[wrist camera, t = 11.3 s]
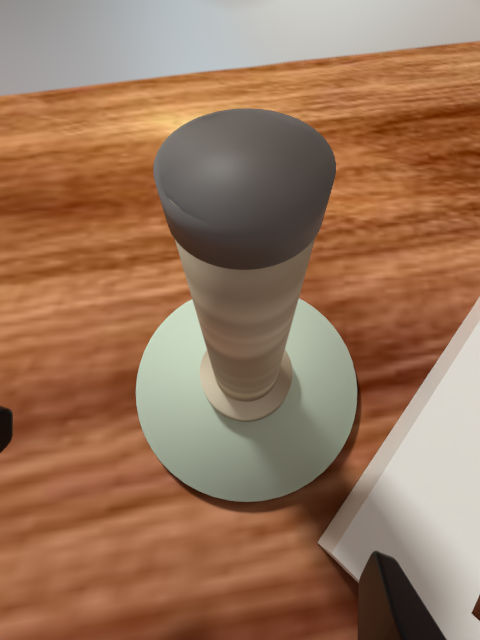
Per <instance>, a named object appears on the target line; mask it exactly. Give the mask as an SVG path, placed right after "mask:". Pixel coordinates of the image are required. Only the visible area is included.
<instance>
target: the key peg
mask: <svg viewBox="0 0 480 640" xmlns="http://www.w3.org/2000/svg"><path fill="white" fill-rule="evenodd" d="M335 173H336V162H335V157H334V154H333V152H332V149H331V147H330V146H329V144H328V143H327V141H326V140H325V139H324V138H323V137H322V135H321V134H320V133H318V132H317V131H316V130H315V129H314V128H312V127H311V126H309V125H308V124H306V123H304V122H302V121H300V120H299V119H296V118H294V117H291V116H289V115H285V114H282V113H279V112H274V111H269V110H262V109H231V110H224V111H218V112H214V113H210V114H207V115H204V116H201V117H198V118H196V119H194V120H192V121H190V122H188V123H186V124H184V125H183V126H181V127H180V128H178V129H177V130H176V131H174V132H173V133H172V134H171V135H170V136H169V137H168V138H167V139H166V140H165V141H164V143H163V144H162V145H161V147H160V149H159V150H158V152H157V155H156V157H155V161H154V179H155V183H156V187H157V190H158V193H159V197H160V200H161V203H162V207H163V210H164V213H165V217H166V220H167V223H168V227H169V229H170V231H171V234H172V235H173V237H174V238H175V241H176V245H177V248H178V252H179V255H180V259H181V262H182V265H183V269H184V272H185V276H186V279H187V283H188V286H189V290H190V293H191V296H192V300H193V303H194V307H195V310H196V314H197V317H198V321H199V324H200V327H201V331H202V334H203V338H204V341H205V345H206V348H207V350H206V352H205V354H204V356H203V358H202V361H201V365H200V381H201V385H202V388H203V391H204V393H205V395H206V397H207V399H208V401H209V402H210V404H211V405H212V406H213V407H214V408H215V410H217V411H218V412H219V413H220V414H222V415H223V416H225V417H227V418H230V419H232V420H236V421H242V422H251V421H257V420H260V419H263V418H265V417H268V416H269V415H271V414H272V413H274V412H275V411H276V410H277V409H278V408H279V407H280V406H281V405H282V403H283V402H284V400H285V398H286V396H287V394H288V392H289V389H290V386H291V382H292V374H293V372H292V364H291V360H290V357H289V355H288V353H287V351H286V350H285V347H286V343H287V339H288V336H289V332H290V328H291V325H292V321H293V317H294V314H295V310H296V306H297V303H298V299H299V295H300V292H301V288H302V284H303V281H304V277H305V273H306V270H307V266H308V262H309V259H310V255H311V251H312V248H313V244H314V240H315V237H316V235H317V234H318V232H319V230H320V227H321V225H322V221H323V218H324V214H325V211H326V207H327V204H328V200H329V196H330V193H331V189H332V186H333V182H334V178H335Z"/></svg>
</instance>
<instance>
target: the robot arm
mask: <svg viewBox="0 0 480 640" xmlns="http://www.w3.org/2000/svg"><path fill="white" fill-rule="evenodd" d="M12 436H13V414H12V411H11V410H10V409H8V408H5V407H3V406H0V453H1V452H2V451H3V450H4V449H5V448H6V447H7V446H8V444H9V443H10V441H11V439H12ZM358 640H447V639H446V638H445V636H444V634H443V633H442V631H441V630H440V628H439V626H438V625H437V623H436V622H435V620H434V618H433V617H432V615H431V614H430V612H429V611H428V609H427V607H426V606H425V604H424V603H423V601H422V599H421V598H420V596H419V595H418V593H417V591H416V590H415V588H414V587H413V585H412V583H411V582H410V580H409V579H408V577H407V576H406V574H405V572H404V571H403V569H402V568H401V566H400V564H399V563H398V561H397V560H396V559H395V558H394V557H392V556H390V555H387V554H384V553H382V552H379V551H374V552H372V554H371V555H370V557H369V559H368V561H367V563H366V566H365V568H364V570H363V572H362V574H361V576H360V579H359V585H358Z"/></svg>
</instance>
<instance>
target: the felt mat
mask: <svg viewBox="0 0 480 640" xmlns="http://www.w3.org/2000/svg"><path fill="white" fill-rule="evenodd" d="M206 350H207V348H206V345H205V341H204V338H203V334H202V331H201V327H200V324H199V321H198V317H197V314H196V310H195V307H194V303H193V300H192V299H191V300H190V301H188V302H186V303H185V304H183V305H182V306H180V307H179V308H178V309H176V310H175V311H174V312H173V313H172V314H171V315H170V316H169V317H167V318H166V319H165V321H164V322H163V323H162V324H161V325H160V326H159V328H158V329H157V330H156V332H155V333H154V335H153V336H152V338H151V339H150V341H149V343H148V345H147V347H146V349H145V351H144V354H143V357H142V359H141V362H140V366H139V370H138V375H137V383H136V404H137V411H138V416H139V421H140V424H141V427H142V430H143V432H144V435H145V437H146V439H147V441H148V443H149V445H150V447H151V449H152V450H153V452H154V453H155V454H156V456H157V457H158V459H159V460H160V461H161V462H162V464H163V465H164V466H165V467H166V468H167V469H168V470H169V471H170V472H171V473H172V474H173V475H175V476H176V477H177V478H179V479H180V480H181V481H182V482H184V483H185V484H187V485H189V486H190V487H192V488H194V489H196V490H198V491H200V492H202V493H205V494H207V495H210V496H213V497H216V498H220V499H225V500H229V501H240V502H254V501H265V500H269V499H274V498H278V497H282V496H284V495H287V494H289V493H292V492H294V491H297V490H298V489H300V488H302V487H303V486H305V485H307V484H309V483H310V482H312V481H313V480H314V479H315V478H317V477H318V476H319V475H320V474H321V473H323V472H324V471H325V470H326V469H327V468H328V466H329V465H330V464H331V463H332V462H333V461H334V460H335V458H336V457H337V455H338V454H339V452H340V451H341V449H342V448H343V446H344V444H345V442H346V440H347V438H348V436H349V434H350V431H351V428H352V425H353V422H354V418H355V412H356V406H357V383H356V375H355V370H354V366H353V362H352V360H351V357H350V354H349V352H348V349H347V347H346V346H345V344H344V342H343V340H342V338H341V337H340V335H339V334H338V332H337V331H336V330H335V328H334V327H333V326H332V324H331V323H330V322H329V321H328V320H327V319H326V318H325V317H324V316H323V315H322V314H321V313H320V312H318V311H317V310H316V309H315V308H314V307H312V306H311V305H309V304H308V303H306V302H305V301H303V300H301V299H298V303H297V306H296V310H295V314H294V317H293V321H292V325H291V328H290V332H289V336H288V339H287V343H286V347H285V350H286V351H287V353H288V355H289V357H290V360H291V364H292V372H293V374H292V382H291V386H290V389H289V392H288V394H287V396H286V398H285V400H284V402H283V403H282V405H281V406H280V407H279V408H278V409H277V410H276V411H275V412H274V413H272V414H271V415H269V416H268V417H265V418H263V419H260V420H257V421H251V422H242V421H236V420H232V419H230V418H227V417H225V416H223V415H222V414H220V413H219V412H218V411H217V410H215V408H214V407H213V406H212V405H211V404H210V402H209V401H208V399H207V397H206V395H205V393H204V391H203V388H202V385H201V381H200V365H201V361H202V358H203V356H204V354H205V352H206Z"/></svg>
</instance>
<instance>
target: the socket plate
mask: <svg viewBox="0 0 480 640" xmlns="http://www.w3.org/2000/svg"><path fill="white" fill-rule="evenodd" d="M317 543H318V544H319V545H320V546H321V547H322V548H323V549H324V550H325V551H326V552H327V553H328V554H329V555H330V556H331V557H332V558H333V559H334V560H335V561H336V562H337V563H338V564H339V565H340V566H341V567H342V568H343V569H344V570H345V571H346V572H347V573H348V574H349V575H350V576H351V577H352V578H353V579H354V580H355V581H356V582H357V583H358V584H359V579H360V576H361V574H362V572H363V570H364V568H365V566H366V563H367V561H368V559H369V557H370V555H371V554H372V552H374V551H379V552H382V553H384V554H387V555H390V556H392V557H394V558H395V559H396V560H397V561H398V563H399V564H400V566H401V568H402V569H403V571H404V572H405V574H406V576H407V577H408V579H409V580H410V582H411V583H412V585H413V587H414V588H415V590H416V591H417V593H418V595H419V596H420V598H421V599H422V601H423V603H424V604H425V606H426V607H427V609H428V611H429V612H430V614H431V615H432V617H433V618H434V620H435V622H436V623H437V625H438V626H439V628H440V630H441V631H442V633H443V634H444V636H445V638H446V639H447V640H480V621H479V620H478V619H477V618H476V617H475V616H474V615H473V614H471V613H472V611H473V608H474V606H475V604H476V602H477V599H478V597H479V595H480V297H479V299H478V300H477V302H476V303H475V305H474V306H473V308H472V309H471V311H470V312H469V314H468V315H467V317H466V318H465V320H464V321H463V323H462V324H461V326H460V327H459V329H458V330H457V332H456V333H455V335H454V336H453V338H452V339H451V341H450V342H449V344H448V346H447V347H446V349H445V350H444V352H443V353H442V355H441V356H440V358H439V359H438V361H437V362H436V364H435V365H434V367H433V368H432V370H431V371H430V373H429V374H428V376H427V377H426V379H425V380H424V382H423V383H422V385H421V386H420V388H419V389H418V391H417V392H416V394H415V395H414V397H413V399H412V400H411V402H410V403H409V405H408V406H407V408H406V409H405V411H404V412H403V414H402V415H401V417H400V418H399V420H398V421H397V423H396V424H395V426H394V427H393V429H392V430H391V432H390V433H389V435H388V436H387V438H386V439H385V441H384V442H383V444H382V445H381V447H380V448H379V450H378V452H377V453H376V455H375V456H374V458H373V459H372V461H371V462H370V464H369V465H368V467H367V468H366V470H365V471H364V473H363V474H362V476H361V477H360V479H359V480H358V482H357V483H356V485H355V486H354V488H353V489H352V491H351V492H350V494H349V495H348V497H347V498H346V500H345V501H344V503H343V505H342V506H341V508H340V509H339V511H338V512H337V514H336V515H335V517H334V518H333V520H332V521H331V523H330V524H329V526H328V527H327V529H326V530H325V532H324V533H323V535H322V536H321V538H320V539H319V541H318V542H317Z"/></svg>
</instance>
